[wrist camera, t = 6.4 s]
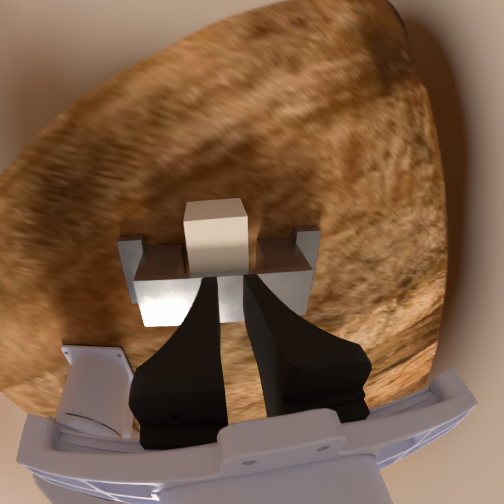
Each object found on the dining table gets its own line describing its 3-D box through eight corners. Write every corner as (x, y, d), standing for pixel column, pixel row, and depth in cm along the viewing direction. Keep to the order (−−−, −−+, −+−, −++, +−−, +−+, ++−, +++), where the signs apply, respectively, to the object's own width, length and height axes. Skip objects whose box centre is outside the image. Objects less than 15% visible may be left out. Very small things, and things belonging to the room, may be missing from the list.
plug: (243, 290, 25) (249, 318, 22) (198, 294, 24) (198, 323, 21) (240, 197, 21) (247, 216, 18) (186, 202, 20) (183, 221, 17)
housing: (307, 285, 26) (327, 320, 22) (133, 296, 23) (123, 336, 19) (316, 225, 23) (341, 255, 19) (120, 236, 20) (102, 269, 16)
